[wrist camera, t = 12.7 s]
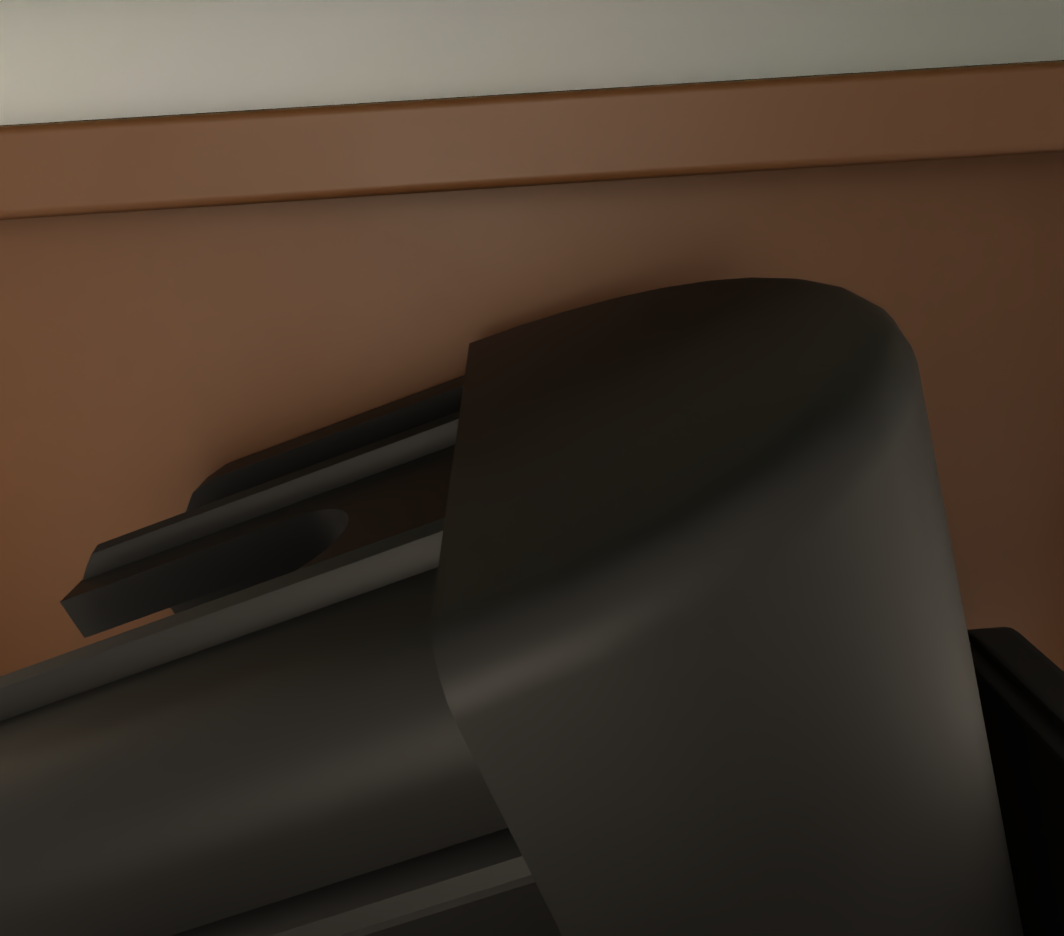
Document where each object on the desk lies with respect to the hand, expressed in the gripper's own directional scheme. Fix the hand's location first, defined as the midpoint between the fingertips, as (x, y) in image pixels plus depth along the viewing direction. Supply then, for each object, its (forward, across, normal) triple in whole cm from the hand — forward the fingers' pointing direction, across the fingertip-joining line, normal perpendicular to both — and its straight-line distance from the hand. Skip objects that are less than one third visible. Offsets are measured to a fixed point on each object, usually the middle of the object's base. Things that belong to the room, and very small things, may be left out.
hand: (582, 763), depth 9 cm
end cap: (+2, 0, 0) cm, 2 cm away
